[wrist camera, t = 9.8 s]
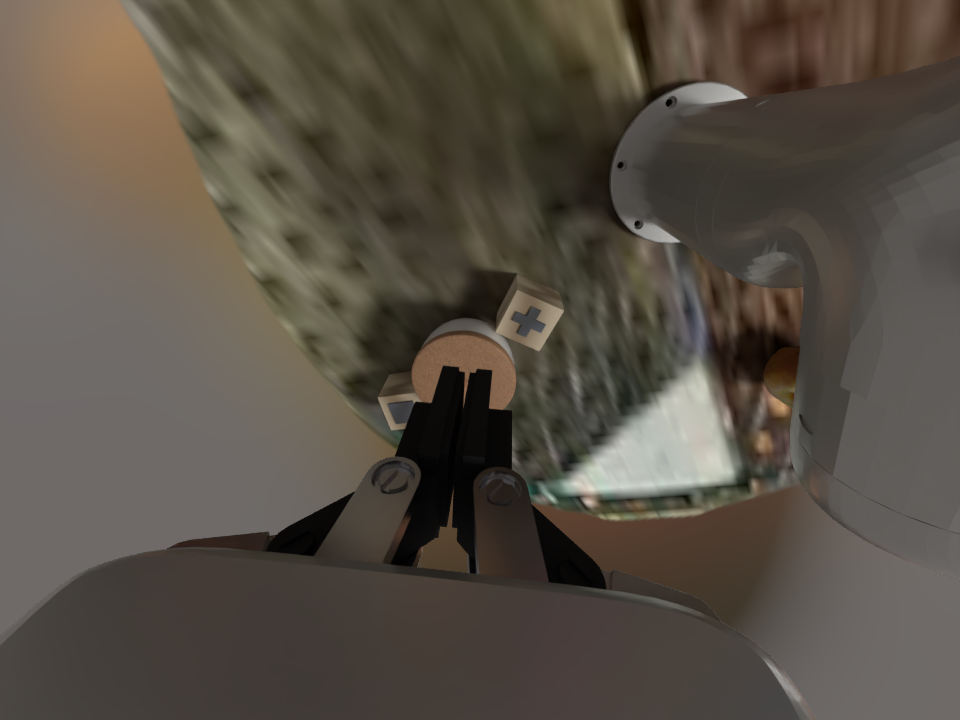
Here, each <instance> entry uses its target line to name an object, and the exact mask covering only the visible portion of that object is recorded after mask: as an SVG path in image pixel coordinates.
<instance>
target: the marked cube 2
mask: <svg viewBox="0 0 960 720" xmlns="http://www.w3.org/2000/svg"><path fill="white" fill-rule="evenodd" d="M563 312H564V309H563V306H562V302H561V298H560V295H559V292H557V291H555V290H553V289H550V288H548V287H546V286H544V285H542V284H540V283H537V282H535V281H533V280H531V279H529V278H526V277H524V276H522V275H520V274H518V273H517V274H516V276H515V278H514V280H513V282H512V284H511V286H510V288H509V290H508V292H507V294H506V296H505V298H504V300H503V302H502V304H501V306H500V308H499V310H498V312H497V320H496V331H495V332H496V333H498V334H500V335H503V336H505V337H507V338H510V339H512V340H514V341H517V342H519V343H521V344H524V345H526V346H528V347H531V348H533V349H535V350H538V351H540V349H541V348H542V346H543V344H544V343H545V341H546V339H547V338H548V336H549V335H550V333H551V331H552V330H553V328H554V326H555V325H556V323H557V321H558V320H559V318H560V316H561V315H562V313H563Z"/></svg>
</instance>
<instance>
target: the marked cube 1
mask: <svg viewBox="0 0 960 720" xmlns="http://www.w3.org/2000/svg"><path fill="white" fill-rule="evenodd" d="M378 400H379V402H380V405H381V407H382V409H383V412H384V414H385V416H386V419H387V421H388V424H389V426H390V428H391V430H398V429H405V427H406V424H407V422H408V419H409V416H410V413H411V411H412V408H413V405H414V403H415V402H416V401H417V402H422V401H421V400H420V399H419V397H418V396H417V394H416V392H415V390H414V388H413V384H412V378H411V371H409V372H402V373H395V374H389V376H388V378H387V380H386V382H385V384H384V386H383V388H382V390H381V392H380V394H379V396H378Z"/></svg>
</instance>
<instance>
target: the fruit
mask: <svg viewBox="0 0 960 720" xmlns="http://www.w3.org/2000/svg"><path fill="white" fill-rule="evenodd" d="M799 353H800V347H793V348H791V347H784V348H781V349H779V350H778V351H777V352H776V353H775V354H774V355H773V356H772V357H771V358H770V360H769V361H768V362H767V364H766V366H765V369H764V382H765V386H766V388H767V390H768V391H769V392H770V394H772V395H773V396H774V397H775V398H777V399H779V400H780V401H782V402H783V403H785V404H786V405H788V406H789V407H791V408H793V400H794V392H795V384H796V377H797V369H798V361H799Z"/></svg>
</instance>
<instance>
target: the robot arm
mask: <svg viewBox="0 0 960 720" xmlns="http://www.w3.org/2000/svg"><path fill="white" fill-rule="evenodd" d="M668 99H669V100H670V101H671V103H670V105H669V106H668V107H667V106H666V101H667V100H668ZM619 162H622V167H621V168H618V166H617V165H618V163H619ZM609 190H610V198H611V201H612V204H613V207H614V210H615V211H616V213H617V215H618V217H619V219H620V220H621V221H622V222H623V223H624V224H625V226H626V227H627V228H628V229H630V230H631V231H632V232H633V233H635V234H636V235H638V236H640V237H642V238H644V239H646V240H650V241H653V242H656V243H668V244H670V243H679V242H682V243H683V244H685V245H686V246H688V247H689V248H691V249H692V250H694V251H695V252H697V253H698V254H700V255H701V256H703V257H704V258H706V259H707V260H709V261H711V262H712V263H714V264H715V265H717V266H718V267H720V268H722V269H724V270H725V271H727V272H728V273H730V274H731V275H733V276H735V277H737V278H739V279H741V280H743V281H745V282H748V283H750V284H754V285H757V286H762V287H768V288H798V287H803V312H802V320H801V328H800V336H799V342H800V353H799V361H798V369H797V377H796V384H795V392H794V400H793V408H792V420H791V427H790V452H791V459H792V463H793V466H794V469H795V472H796V475H797V477H798V479H799V481H800V483H801V484H802V486H803V488H804V489H805V491H806V492H807V493H808V495H809V496H810V498H812V500H813V501H814V502H815V503H816V504H817V505H818V506H819V507H820V508H821V509H822V510H823V511H824V512H825V513H827V514H828V515H829V516H830V517H831V518H832V519H833V520H835V521H836V522H837V523H839V524H840V525H841V526H843V527H844V528H846V529H847V530H849V531H850V532H852V533H854V534H855V535H857V536H858V537H860V538H862V539H863V540H865V541H867V542H868V543H870V544H873V545H874V546H876V547H878V548H880V549H882V550H884V551H886V552H888V553H890V554H892V555H895V556H897V557H899V558H901V559H904V560H906V561H908V562H911V563H913V564H916V565H918V566H921V567H923V568H926V569H929V570H932V571H935V572H937V573H940V574H943V575H946V576H948V577H951V578H955V579H958V580H960V56H958V57H954V58H951V59H948V60H945V61H942V62H938V63H935V64H931V65H927V66H924V67H920V68H917V69H913V70H909V71H906V72H902V73H898V74H893V75H889V76H885V77H880V78H876V79H871V80H865V81H859V82H853V83H847V84H840V85H834V86H827V87H820V88H814V89H808V90H801V91H794V92H786V93H779V94H772V95H765V96H758V97H751V98H749V97H747V96H746V95H745V94H744V93H743V92H742V91H740V90H738V89H736V88H734V87H732V86H730V85H728V84H723V83H718V82H713V81H711V82H695V83H691V84H687V85H683V86H680V87H678V88H675V89H672V90H670V91H668V92H666V93H664V94H663V95H661V96H659V97H658V98H656V99H654V100H653V101H652V102H651V103H649V104H648V105H647V106H646V107H645V108H643V109H642V110H641V111H640V112H639V113H638V115H637V116H636V117H635V118H634V119H633V120H632V121H631V123H630V124H629V125H628V127H627V128H626V130H625V132H624V133H623V135H622V136H621V138H620V140H619V142H618V145H617V147H616V149H615V151H614V154H613V158H612V162H611V166H610V173H609ZM637 220H638V221H639V223H638V224H637V225H634V223H635V222H636V221H637ZM491 381H492V370H485V369H476V373H472V372H470V374H469V380H468V385H467V391H466V396H465V402H464V385H465V372H461V371H459V367H453V366H443V367H442V370H441V373H440V376H439V380H438V383H437V386H436V390H435V393H434V396H433V400H432V403H427V402H417V401H416V402H415V403H414V405H413V408H412V411H411V413H410V416H409V419H408V422H407V424H406V427H405V430H404V433H403V435H402V438H401V441H400V444H399V446H398V449H397V452H396V455H395V457H390V458H386V459H383V460H380V461H379V462H377V463H376V464H374V465H373V466H372V467H371V469H369V471H368V472H367V474H366V475H365V477H364V478H363V480H362V481H361V483H360V485H359V486H358V488H357V489H356V491H355V492H353V493H351V494H349V495H347V496H345V497H343V498H341V499H340V500H338V501H336V502H334V503H332V504H330V505H328V506H326V507H324V508H323V509H320V510H319V511H317V512H315V513H313V514H311V515H309V516H307V517H305V518H304V519H301V520H300V521H298V522H296V523H294V524H292V525H290V526H288V527H287V528H285V529H284V530H282V531H281V532H279V533H278V534H277V535H272V536H270V534H269V532H259V533H250V534H241V535H231V536H221V537H212V538H202V539H193V540H187V541H183V542H180V543H177V544H175V545H173V546H171V547H169V548H167V549H163V550H155V551H149V552H143V553H139V554H135V555H130V556H126V557H122V558H118V559H115V560H112V561H109V562H106V563H103V564H100V565H97V566H95V567H92V568H90V569H87V570H85V571H83V572H81V573H79V574H77V575H75V576H74V577H72V578H70V579H69V580H67V581H66V582H64V583H63V584H61V585H60V586H58V587H57V588H56V589H55V590H53V591H52V592H51V593H49V594H48V595H46V596H45V597H44V598H43V599H42V600H40V601H39V602H38V603H37V604H35V605H34V606H33V607H32V608H31V609H30V610H28V611H27V612H26V613H25V614H24V615H23V616H22V617H21V618H19V619H18V620H17V621H16V622H15V623H14V624H12V625H11V626H10V627H9V628H8V629H7V630H6V631H5V632H4V633H3V634H1V635H0V720H816V718H815V716H814V715H813V713H812V711H811V710H810V708H809V707H808V705H807V703H806V702H805V700H804V698H803V697H802V695H801V694H800V692H799V691H798V690H797V688H796V686H795V685H794V684H793V682H792V681H791V679H790V678H789V677H788V675H787V674H786V673H785V672H784V670H783V669H782V668H781V667H780V666H779V664H778V663H777V662H776V661H775V660H774V659H773V658H772V657H771V656H770V655H769V654H768V653H767V652H766V651H765V650H763V649H762V648H761V647H760V646H759V645H758V644H756V643H755V642H753V641H752V640H750V639H749V638H748V637H746V636H745V635H743V634H741V633H740V632H738V631H736V630H735V629H733V628H731V627H730V626H728V625H726V624H724V623H722V622H721V621H720V619H719V618H718V617H717V615H716V614H715V613H714V611H713V610H712V609H711V608H710V607H709V606H708V605H706V604H705V603H704V602H703V601H702V600H700V599H698V598H696V597H694V596H692V595H689V594H686V593H683V592H680V591H678V590H675V589H671V588H669V587H666V586H662V585H660V584H656V583H654V582H650V581H648V580H645V579H641V578H639V577H636V576H632V575H629V574H627V573H623V572H620V571H618V570H615V569H613V570H612V572H611V573H610V572H607V571H604V570H601V569H600V567H599V566H598V565H597V564H596V563H595V562H594V561H593V559H592V558H590V557H589V556H588V555H587V554H586V553H585V552H584V551H583V550H581V548H579V547H578V546H577V545H576V544H575V543H574V542H573V541H572V540H571V539H569V538H568V537H567V536H566V535H565V534H564V533H563V532H562V531H560V530H559V529H558V528H557V527H556V526H555V525H554V524H553V523H552V522H551V521H549V520H548V519H547V518H546V517H545V516H544V515H543V514H542V513H541V512H540V511H539V510H537V509H536V508H535V507H534V506H533V505H532V504H531V500H530V496H529V491H528V487H527V485H526V482H525V480H524V479H523V478H522V477H521V476H520V475H519V474H518V473H516V472H515V471H513V470H512V411H510V410H500V409H489V404H490V393H491ZM463 405H464V407H463ZM453 488H454V494H453ZM452 494H453V495H454V496H453V520H452V521H453V522H452V527H453V528H457V542H458V543H459V544H460V545H461V546H462V548H463V549H464V550H465V551H466V552H467V553H468V573H462V572H454V571H445V570H435V569H426V568H418V567H417V566H418V563H419V561H420V558H421V555H422V550H423V546H424V545H426V544H427V543H429V542H430V541H431V540H433V539H434V538H438V535H439V530H440V526H441V527H447V522H448V517H449V511H450V505H451V499H452Z"/></svg>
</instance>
